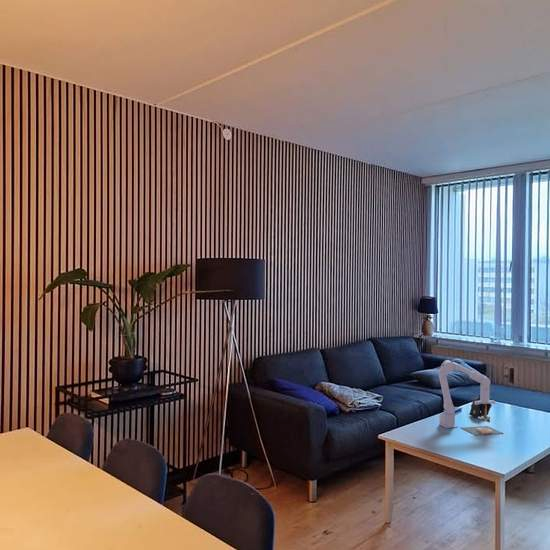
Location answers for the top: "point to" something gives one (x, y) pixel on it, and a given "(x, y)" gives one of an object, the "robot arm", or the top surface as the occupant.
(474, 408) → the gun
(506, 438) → the top surface
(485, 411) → the tamper
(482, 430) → the tile
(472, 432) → the mat
